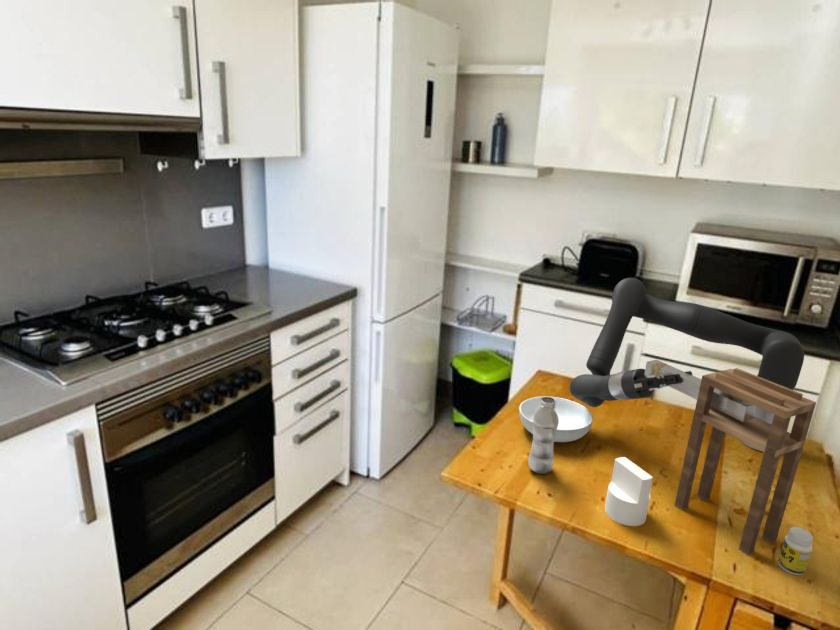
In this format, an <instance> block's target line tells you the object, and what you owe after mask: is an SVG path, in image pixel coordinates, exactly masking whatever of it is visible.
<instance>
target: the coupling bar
mask: <svg viewBox="0 0 840 630" xmlns="http://www.w3.org/2000/svg"><path fill="white" fill-rule="evenodd" d="M644 369H645V374H644V375H649V376H651V375H659V376H661V375H663V376H664V375H665V376H667V375H673V374H680V376H681V380H682V382H681V383H679V384H671V385H667V386H666V387H670V389H673V390H676V391H678V392H680V393H682V394H684V395H686V396H688V397H690V398H692V399H694V400H696V401H697V398H698V394H699V389H700V384H701V380H702V378H699V377H696V376H694V375H693V374H692V375H690V374H688V373H685V372H686V371H683V370H681V369H679V368H676V367H674V366H672V365H670V364H668V363H666V362H664V361H661V360H658V359H653V360H649V361H646V365H645V368H644ZM652 378H653V377H652ZM710 406H711V407H713V408H715V409H717V410H719V411H721V412H723V413H726V414H728V415H730V416H732V417H734V418H736V419H738V420H740V421H742V422H744V421H747V420H751V419H753V418H754V414H755V410H756V406H754V405H752V404H750V403H748V402H745V401H743V400H741V399H738V398H736V397H734V396H732V395H729V394H727V393H725V392H723V391H720V390H718V389H716V388H714V392H713V396H712V401H711V405H710Z"/></svg>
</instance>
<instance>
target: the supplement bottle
mask: <svg viewBox="0 0 840 630" xmlns="http://www.w3.org/2000/svg"><path fill="white" fill-rule="evenodd" d="M813 540H814V536H813V535H812V532H811V533H810V531H809V530H807V529H804V528H802V527H797V526H792V527H790V528H789V530H788V533H787V534H786V535H785V537H784V538H783V543H782V545H781V549H780V551H779V555H778V558H777V563H778V566H779V567H780V568H781V569H782V570H784V571H785V572H787V573H789V574H791V575H795V576H803V575H804V574H805V573H806V571H807V568H808V567H807V566H808V564H809V561H810V558H811V555H812V553H813V545H812V544H813Z"/></svg>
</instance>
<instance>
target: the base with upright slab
mask: <svg viewBox="0 0 840 630" xmlns="http://www.w3.org/2000/svg"><path fill="white" fill-rule="evenodd" d="M653 478H654V477H653V476H652V474H649V473H648V472H647V471H645V470H644V469H642V468H641V467H640V466H639V465H637V464H636V463H634V462H633V461H631V460H630V459H629V458H627V457H626V456H622V457H619V456H618V457H617V458H615V459H614V464H613V469H612V476H611V481H610V483H609V484H608V486H607V494H606V499H605V504H604V505H605V506H604V511H605V513H606V515H607V516H608V518H610V520H612V521H615V522H616V523H618V524H621V525H624V526H629V527H637V526H641V525H643V524H644V523H645V522H646V520H647V514H648V510H649V505H650V502H651V501H650V500H651V488H652V483H653Z"/></svg>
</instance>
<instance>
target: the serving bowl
mask: <svg viewBox="0 0 840 630" xmlns="http://www.w3.org/2000/svg"><path fill="white" fill-rule="evenodd" d="M542 397H548V396H547V395H546V396H545V395H544V396H534V397H531V398H527V399H526V400H523V401H522V402H521V403H520V404H519V409H518V411H519V418H520V422H521V423H522V425H523V427H524V428H525V429H526V430H527V431H528V432H529V433H530V434H532V435H533V416H534V414H535V412H536V411H537V410H538V409H539V408H540V403H541V398H542ZM550 397H551V398H554V399H555V401H556V403H555V409H554V410H555V412H556V413H557V415H558V419H559V423H558V427H557V430H556V434H555V439H554V443H569V442H573V441H577V440H579V439H581V438H582V437H584V436H585V435H587V433H588V432H589V431H590V430H591V427H592V426H593V425H592V424H593V422H594V416H593V413H592V412H591V411H590V410H589V409H588V408H587V407H586V406H584V405H582V404H581V403H578V402H576V401H573V400H571V399H566V398H563V397H557V396H556V397H555V396H550Z"/></svg>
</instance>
